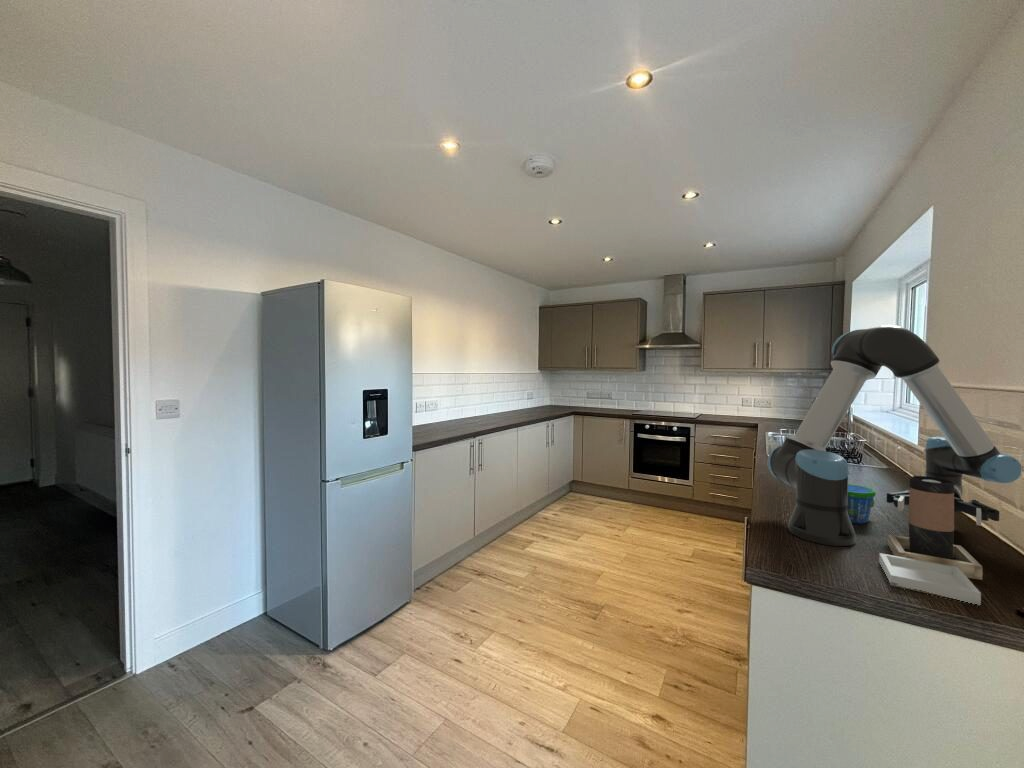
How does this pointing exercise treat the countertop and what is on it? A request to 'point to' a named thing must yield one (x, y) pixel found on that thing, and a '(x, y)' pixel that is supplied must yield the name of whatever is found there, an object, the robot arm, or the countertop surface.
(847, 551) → the countertop surface
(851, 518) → the snack cup
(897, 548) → the wooden holder
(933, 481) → the travel mug
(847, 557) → the countertop surface
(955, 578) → the grey tray
